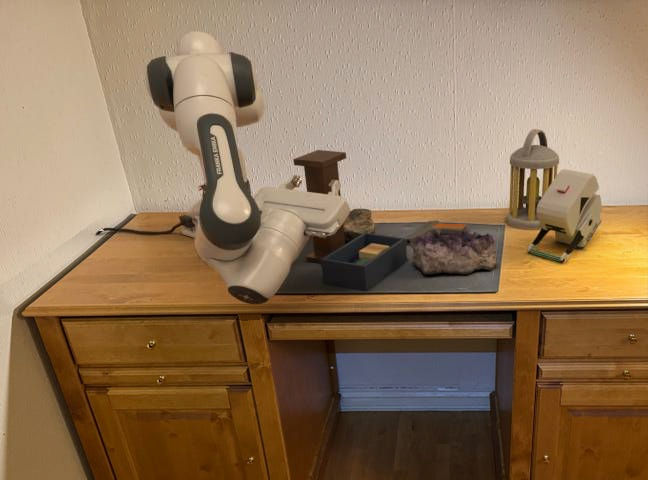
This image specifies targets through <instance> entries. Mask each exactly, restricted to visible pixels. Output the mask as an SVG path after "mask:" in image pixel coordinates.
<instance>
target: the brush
mask: <svg viewBox="0 0 648 480" xmlns="http://www.w3.org/2000/svg"><path fill="white" fill-rule="evenodd" d="M388 248H389V246H386V245H380V244H373V243H371V244H370V245H368V246H366V247H365V248H363V249H362V250H360V251H359V259H361V260H359V261H358V262H356V263H355V264H360V265H364V264H366V263H367V262H369V261H370V260H372V259H373V258H375V257H376V256H378V255H379V254H380V253H382V252H383V251H385V250H386V249H388Z"/></svg>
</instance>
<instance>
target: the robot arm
mask: <svg viewBox="0 0 648 480" xmlns="http://www.w3.org/2000/svg"><path fill="white" fill-rule="evenodd" d="M258 77H259V76H258V74H257V71H256V68H255V67H254V66H253V64H252V61H251V59H249V58H248V57H247V56H245V55H243V54H239V53H236V52H234V51H230V52H226V53H225V52H224V50H223V48H222V46H221V45H220V44H219V42H218V41H217V39H216V38H215V37H213V36H212V35H211V34H210V33H207V32H204V31H201V30H194V31H193V30H192V31H188V32H186V33H185V34H183V36H182V37H181V38H180V39H179V40H178V43H177V45H176V51H175V55H174V56H173V55H172V56H168V57H166V56H165V55H163V56H158V57H155V58H153V59H151V60H150V61H149V63H148V64H147V65H146V71H145V79H144V81H145V87H146V90H147V93H148V95H149V97H150V99H151V100H152V102H153V104H154V105H155V106H156V107H157V109H158V113H159V115H160V116H159V117H161V119H162V120H163V122H164V123H165V125H166V126H167V127H169V129H172V130H173V131H175V132H177V133H178V136H179V138H180V141H181V144H182V146H183V147H184V148H185V150H187V151H188V152H190V153H191V154H193V155H195V156H197V158H198V161H199V164H200V168H201V172H202V176H203V181H204V183H203V184H201V185H198V186H197V188H198V191H199V192H200V191H202V193H201V198H199V200H198V201H197V202H196V203H195V204H194V205H193V206H192V207H191V208H190V209H189V210H188V213H187V215H186V214H183V215H180V216H178V219H179V223H177V224H175V225H173V226H172V227H171V229H169V230H168V229H167V230H163V231H152V230H136V229H131V228H116V227H103V228H104V229H103V228H102V229H103V230H104V231H99V230H97V231H96V233H95V234H94V235H95V236H99V235H100V234H101V233H104V232H109V231H110V232H124V233H125V232H126V233H133V234H139V235H168V234H171V233H173V232H175V230H176V229H177V228H180V227H181V226H183V228H182V229H181V231H180V232H181V234H182V235H184V236H187V237H190V238H193V248H194V251H195V253H196V255H197V257H198V258H199V259H200V260H201V261H202V262H203V263H204V264H206V265H208V266H209V267H210V268H211V269H212V270H214V272H215V273H217V275H218V276H219V277H220V279H221V280H222V281H223V283H224V285H225V288H226V290H227V292H228V293H229V294H230V295H231V297H233V298H235V299H236V300H238V301H240V302H242V303H245V304H249V305H262V304H265V303H268V301H270V300H271V299H272V298H273V297H274V296H275V295H276V294H277V292H278V291H279V290H280V288H281V286H282V285H283V284H284V282H285V280H286V279H287V277H288V275H289V274H290V271H291V266H292V264H294V262H295V261H296V260H297V259H298V258H299V256H300V255H301V253H302V252H303V250H304V248H305V247H306V244H307V243H308V241H309V239H310V237H312V238H313V237H319V238H326V237H328V236H331V235H334V234H335V233H336V231H337V230H338V229H339V228H340V227H341V225H342V224H343V223H344V221H345V220H346V218H347V217H348V215H349V214H350V211H351V207H350V205H349V203H348V201H347V199H346V197H344V196H343V195H341V196H339V195H338V191H339V190H340V191H341V187H342V184H341V182H340V179H339V180H331V182H330V183H329V187H330V188H331V191H332V192H329V193H328V195H327V194H320V193H312V192H307V191H305V190H304V191H303V190H297V189H295V188H300V186H301V184H302V182H303V179H302V178H301V176H300V175H297V174H292V175H291V177H290V178H289V180H287V181H285V182H283V183H282V184H280V185H279V187H272V186H264V187H262V188H260V189H259V190H258V191H257V192H256V194H255V195H254V197H253V196H252V190H251V183H250V180H249V179H248V176H247V171H246V164H245V163H246V162H245V157H244V153H243V151H242V150H241V149H240V148H239V147H238V146H237V145H238V144H237V136H238V135H237V133H238V132H237V131H238V130H237V128H243V127H247V126H251V125H254V124H257V123H259V122H260V121H261V120H262V118H263V116H264V114H265V107H266V106H265V105H266V104H265V99H264V96H263V93H262V92H261V90H260V89H259V78H258Z"/></svg>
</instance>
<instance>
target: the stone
mask: <svg viewBox="0 0 648 480" xmlns="http://www.w3.org/2000/svg"><path fill="white" fill-rule="evenodd" d="M343 226H344V236H345V241H347V242H350V241H352V240H353V239H355V238H357V237H358V236H360V235H362V234H363V233H372V234H376V225H375V222H374V219H372V210H371V209H368V208H353V209H352V210H350V214H349V215H348V217H347V218H346V220H345V221H344V223H343Z"/></svg>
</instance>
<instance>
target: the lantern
mask: <svg viewBox="0 0 648 480" xmlns="http://www.w3.org/2000/svg"><path fill="white" fill-rule="evenodd" d="M536 136H538V141H539V144H533V142H534V140H535V137H536ZM509 164H510V176H509V177H510V179H509V208H508V209H509V210H508V213H507V214H506V216H505V223H507V225H508V226H511V227H513V228H516V229H520V230H521V229H522V230H541V229H542V226H541V224H540V222H539V219H538V217H537V212H536V210H537V205H538V203H539V201H540V200H541V198H542V197H543V195H544V194H545V192H546V191H547V189H548V188H549V186H550V185H551V183H552V182H553V180H554V179H555V177H556V176H557V174H558V167H559V165H560V156H559V154H558V153H557V152H556V151H555V150H553V149H552V148H550V147H549V146H548V139H547V136H546V133H545V132H544V130H542V129H537V128H533V129H531V130H530V131H529V132H528V133H527V135H526V137H525V140H524V142H523V146H522V147H520V148H517V149H516V150H515V151H514V152H513V153H511V154H510V157H509ZM526 170H530V171H529V177H527V180H525V179H526V178H525V177H526ZM538 170H542V185H541V186H542V187H541V195H540V184H541V179H540V178H539V177H538ZM525 181H526V189H525ZM525 190H526V191H525ZM525 194H526V195H525ZM524 205H525V207H524Z"/></svg>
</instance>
